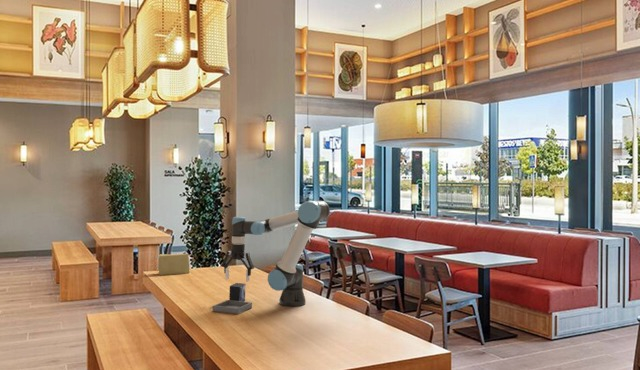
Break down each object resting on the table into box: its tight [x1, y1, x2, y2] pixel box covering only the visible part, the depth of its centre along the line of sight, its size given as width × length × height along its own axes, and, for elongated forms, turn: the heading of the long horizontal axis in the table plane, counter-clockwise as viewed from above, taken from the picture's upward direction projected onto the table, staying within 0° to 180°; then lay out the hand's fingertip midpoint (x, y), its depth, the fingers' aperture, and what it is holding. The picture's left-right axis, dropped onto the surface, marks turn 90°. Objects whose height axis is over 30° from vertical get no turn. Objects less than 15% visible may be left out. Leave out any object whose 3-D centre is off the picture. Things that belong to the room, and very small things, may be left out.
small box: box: [228, 282, 246, 302], centre depth 301 cm, size 11×6×10 cm, turn 168°
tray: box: [211, 299, 253, 315], centre depth 284 cm, size 16×16×3 cm
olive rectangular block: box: [158, 253, 190, 276], centre depth 391 cm, size 22×10×15 cm, turn 109°
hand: (237, 280), depth 301 cm, fingers open, 13 cm apart
